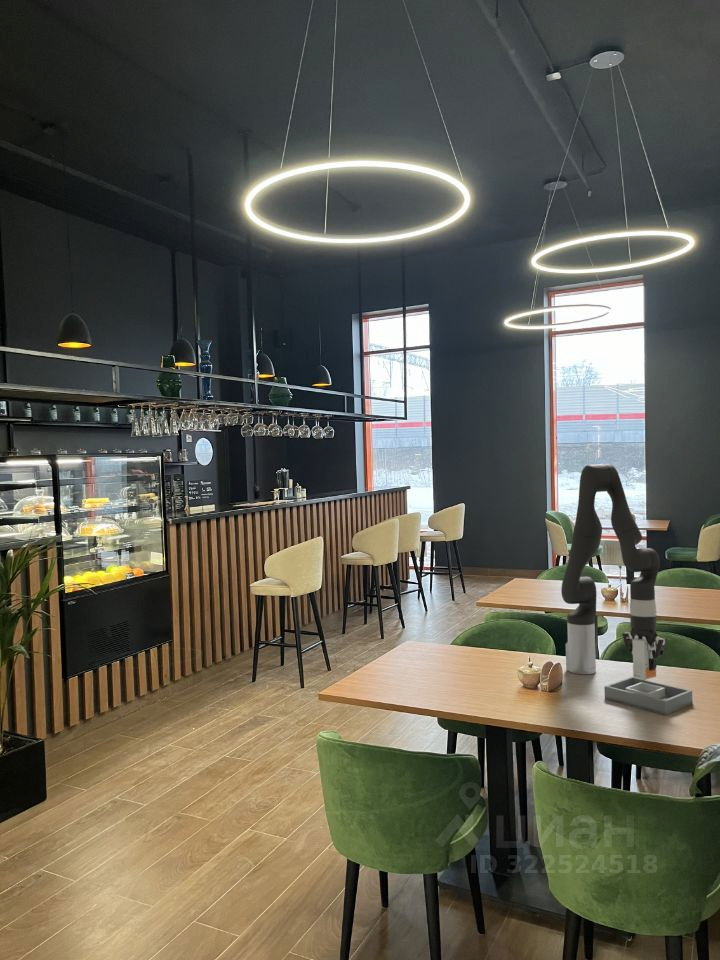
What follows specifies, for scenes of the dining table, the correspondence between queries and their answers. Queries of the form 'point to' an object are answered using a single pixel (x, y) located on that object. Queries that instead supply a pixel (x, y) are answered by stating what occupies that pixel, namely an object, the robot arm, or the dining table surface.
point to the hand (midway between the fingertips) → (644, 668)
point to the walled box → (648, 695)
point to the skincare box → (641, 660)
